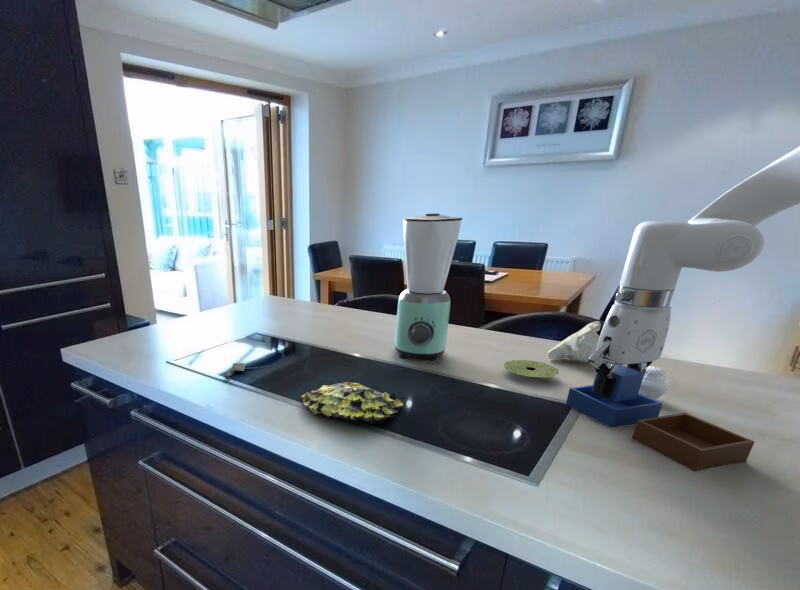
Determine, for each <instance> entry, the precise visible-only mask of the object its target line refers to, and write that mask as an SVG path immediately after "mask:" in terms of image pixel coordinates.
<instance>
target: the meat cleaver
mask: <svg viewBox="0 0 800 590" xmlns="http://www.w3.org/2000/svg"><path fill="white" fill-rule="evenodd" d="M246 366H247V363H246V362H236V363H235V362H233V363H232V367H233V368H231V369H229V370H228V371H226V373H225V375H224V378H226V379H229V380H231V377H232V376H233V375H234V374H235V373H236V372H244V371H245V369H246ZM234 372H235V373H234ZM232 374H233V375H232ZM230 376H231V377H230ZM226 379H225V380H226Z"/></svg>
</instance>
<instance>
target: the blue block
mask: <svg viewBox="0 0 800 590" xmlns="http://www.w3.org/2000/svg"><path fill="white" fill-rule="evenodd" d="M611 365H612V364H611ZM611 365H607V366H608V368H609V369H610V367H611ZM644 374H645V373H642V372H639V371H637V370H634V369H631V368H628V367H627V365H620V366H619V367H618V369H617V371H616V373H615V375H614V377H613V378H615V379H616V380H615V383H614V387H613V390H612V393H611V397H610V398H608V399H610V400H612V401H614V402H616V401H623V400H630V399H637V396H638V393H639V390H640V387H641V384H642V381H643V377H644ZM597 375H598V374H597V373H596V372H595V377H594V380H593V384H592V385H593V387H592V391H593V389H594V386H595V382H596V379H597Z"/></svg>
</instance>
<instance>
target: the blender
mask: <svg viewBox="0 0 800 590" xmlns="http://www.w3.org/2000/svg"><path fill="white" fill-rule="evenodd" d="M402 219H403V246H404V263H405V264H404V265H405V277H406V289H404V290H403V291H402V292H401V293H400V295H399V297H398V302H397V309H396V321H395V333H394V343H393V345H394V349H395V350H396V352H398V354H399V358H401V359H407V358H408V357H411V358H419V359H428V358H429V360H430V361H433V362H434V361H438V359H439V357H440V356H441V355H442V354H444V353H445V350H446V346H447V340H448V339H447V338H448V329H449V322H450V314H451V313H450V312H451V297H450V295H449V293H448V292H447V291H446V290H445V286H446V283H447V279H448V275H449V272H450V268H451V264H452V261H453V257H454V254H455V250H456V246H457V243H458V240H459V235H460V230H461V223H462V220H463V217H460V216H449V215H443V214H440V213H437V212H435V213H425V214H424V215H423V214H422V215H418V216H412V217H403V218H402Z"/></svg>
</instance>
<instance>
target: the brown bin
mask: <svg viewBox="0 0 800 590" xmlns="http://www.w3.org/2000/svg"><path fill="white" fill-rule="evenodd" d="M634 425H635V426H634V429H633V432H632V435H631V438H630V439H631V440H633V441H635V442H637V443H639V444H640V445H642V446H644V447H647V448H649V449H651V450H653V451H654V452H656V453H658V454H660V455H662V456H664V457H666V458H667V459H669V460H672V461H673V462H675V463H677V464H678V465H679V464H680V465H681V466H683V467H685V468H687V469H689V470H691V471H693V472H698V471H704V470H709V469H715V468H720V467H725V466H730V465H735V464H740V463H745V462H747V460H748V458H749V456H750V453H751V451H752V449H753V448H754V445H755V443H756V441H754V440H752V439H749V438H747V437H744V436H742V435H740V434H737V433H736V432H733V431H730V430H728V429H726V428H724V427H721V426H719V425H716V424H713V423H712V422H709V421H706V420H704V419H702V418H699V417H697V416H694V415H692V414H690V413H687V412H680V413H675V414H673V413H672V414H667V415H660V416H658V417H654V418H647V419H641V420H637V422H636V424H634Z"/></svg>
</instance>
